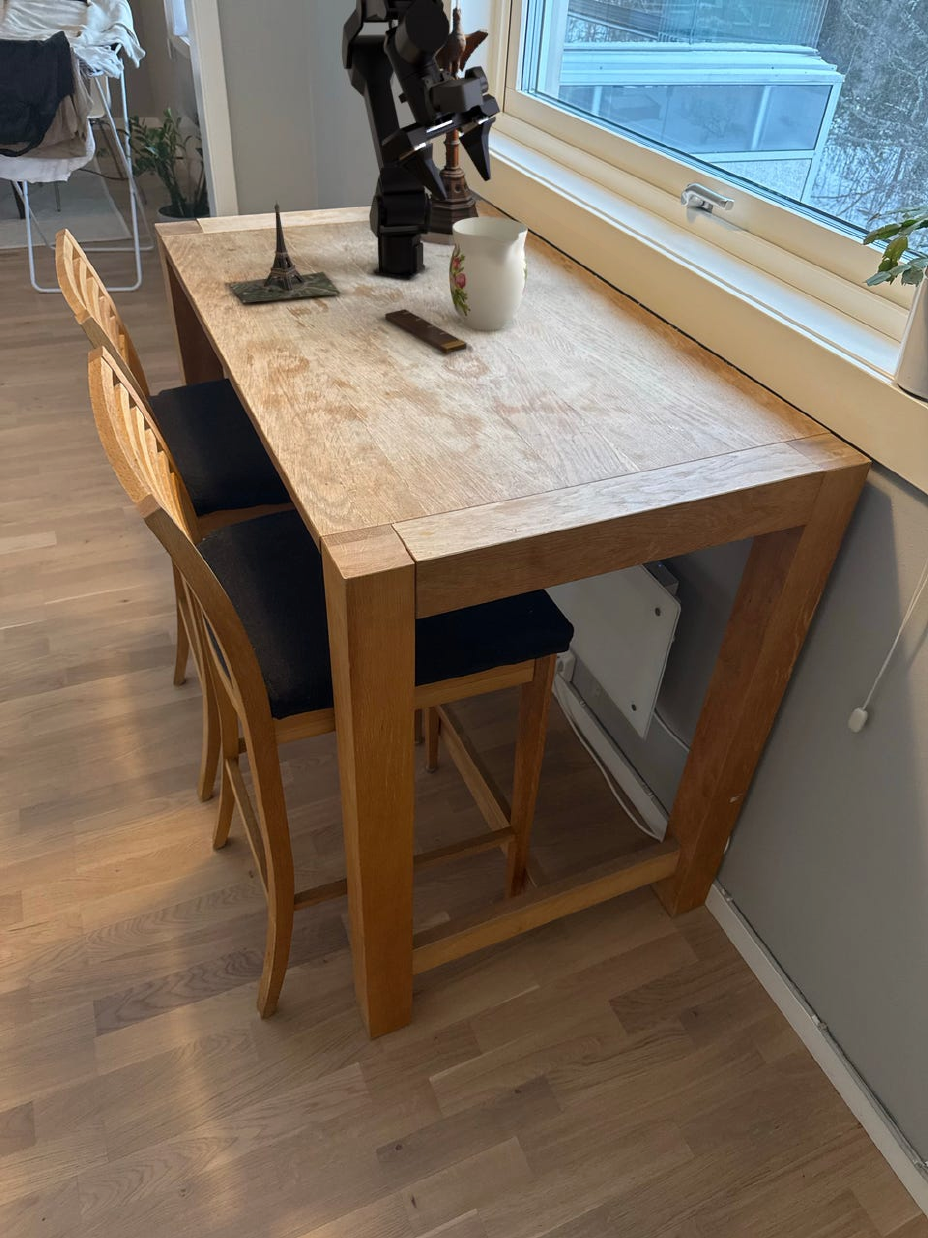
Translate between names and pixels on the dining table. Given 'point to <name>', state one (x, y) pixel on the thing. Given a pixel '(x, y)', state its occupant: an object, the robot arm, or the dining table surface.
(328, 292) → the eiffel tower figurine
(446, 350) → the ruler
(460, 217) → the bird statue
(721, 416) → the dining table surface
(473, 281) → the pitcher
